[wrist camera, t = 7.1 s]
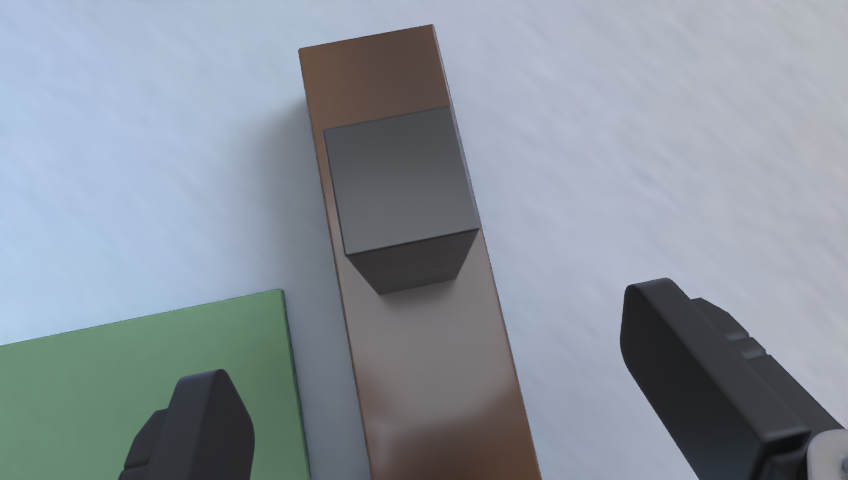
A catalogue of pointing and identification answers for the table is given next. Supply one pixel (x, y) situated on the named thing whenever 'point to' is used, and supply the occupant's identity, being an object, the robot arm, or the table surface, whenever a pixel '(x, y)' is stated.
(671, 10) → the table surface
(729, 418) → the robot arm
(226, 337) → the rubber mat
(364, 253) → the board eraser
